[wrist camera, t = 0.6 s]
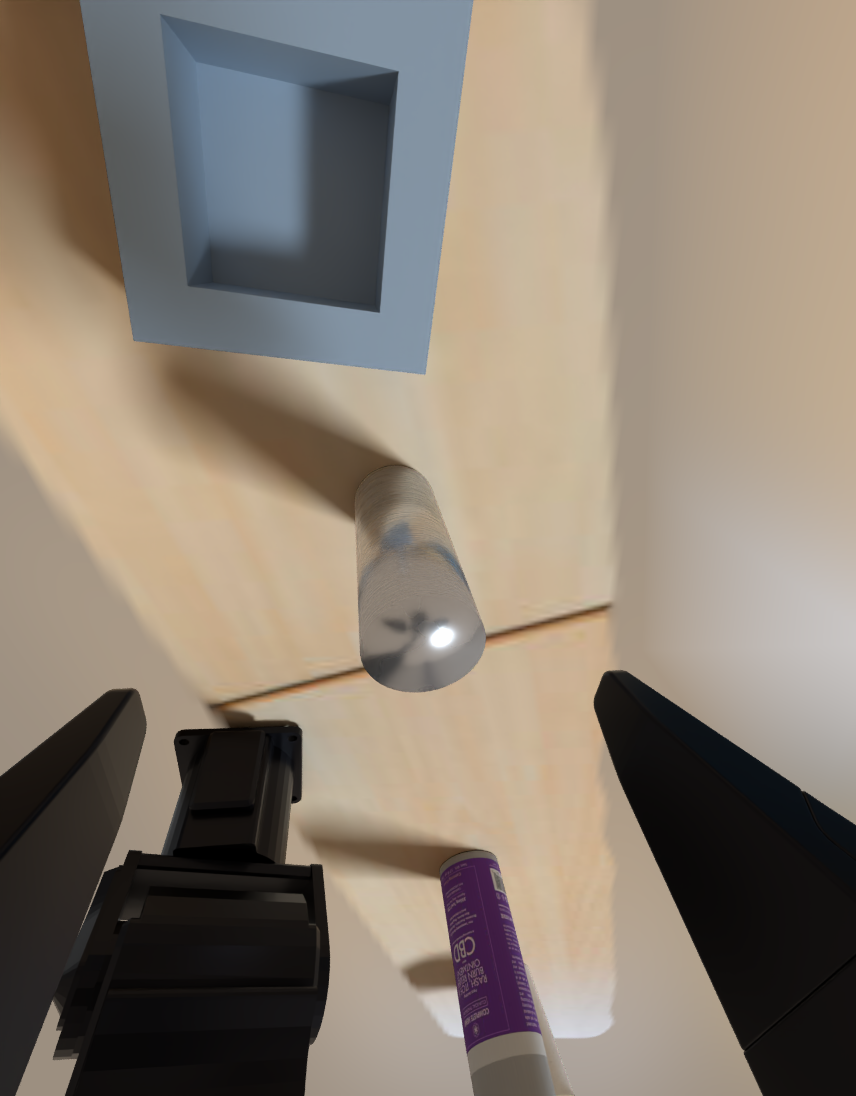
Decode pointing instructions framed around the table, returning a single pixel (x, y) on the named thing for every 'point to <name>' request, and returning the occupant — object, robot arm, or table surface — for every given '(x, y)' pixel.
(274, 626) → the table surface
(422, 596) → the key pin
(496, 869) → the container
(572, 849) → the table surface
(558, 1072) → the dixie cup
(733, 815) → the robot arm
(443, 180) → the blue-grey block with rod
